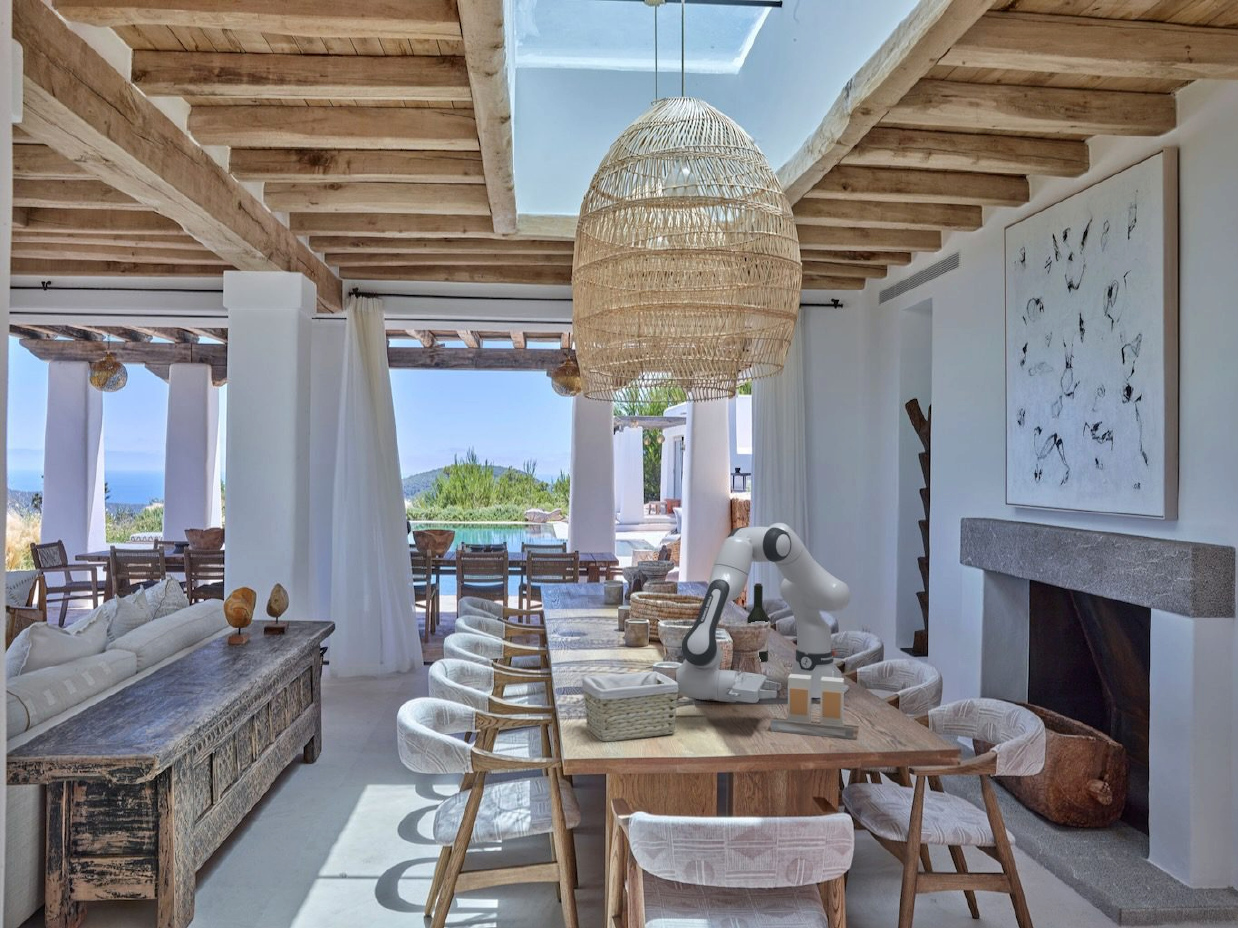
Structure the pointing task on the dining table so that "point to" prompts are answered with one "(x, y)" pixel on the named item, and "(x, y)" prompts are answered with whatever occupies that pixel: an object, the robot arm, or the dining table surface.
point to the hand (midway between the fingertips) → (778, 690)
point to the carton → (832, 701)
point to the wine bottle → (759, 616)
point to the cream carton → (799, 698)
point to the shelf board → (814, 729)
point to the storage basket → (630, 705)
